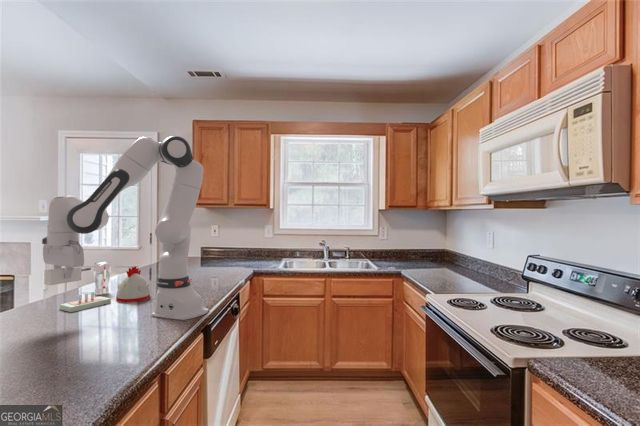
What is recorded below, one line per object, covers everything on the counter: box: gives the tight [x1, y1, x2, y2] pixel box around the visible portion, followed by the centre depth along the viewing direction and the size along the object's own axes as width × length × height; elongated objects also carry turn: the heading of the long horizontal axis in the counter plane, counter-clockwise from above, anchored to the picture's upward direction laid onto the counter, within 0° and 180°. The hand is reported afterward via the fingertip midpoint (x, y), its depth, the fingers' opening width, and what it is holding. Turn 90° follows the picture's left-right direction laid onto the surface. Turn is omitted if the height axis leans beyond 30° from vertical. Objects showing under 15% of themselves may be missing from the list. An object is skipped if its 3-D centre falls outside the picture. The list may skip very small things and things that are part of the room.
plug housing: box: [43, 267, 92, 286], centre depth 125 cm, size 4×14×5 cm, turn 154°
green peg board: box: [59, 291, 112, 313], centre depth 144 cm, size 8×16×5 cm, turn 154°
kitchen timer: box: [115, 266, 151, 303], centre depth 158 cm, size 14×14×15 cm
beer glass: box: [93, 261, 112, 296], centre depth 165 cm, size 7×7×15 cm
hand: (63, 277), depth 123 cm, fingers closed on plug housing, 4 cm apart
